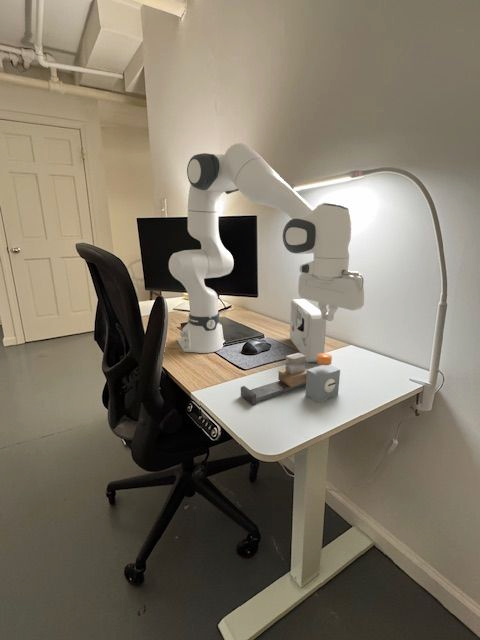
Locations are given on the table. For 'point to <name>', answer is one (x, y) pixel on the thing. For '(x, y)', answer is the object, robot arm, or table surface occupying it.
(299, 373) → the carriage
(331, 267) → the robot arm
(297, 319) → the rounded white slab
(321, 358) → the button
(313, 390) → the cabinet
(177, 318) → the table surface
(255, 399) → the rail
